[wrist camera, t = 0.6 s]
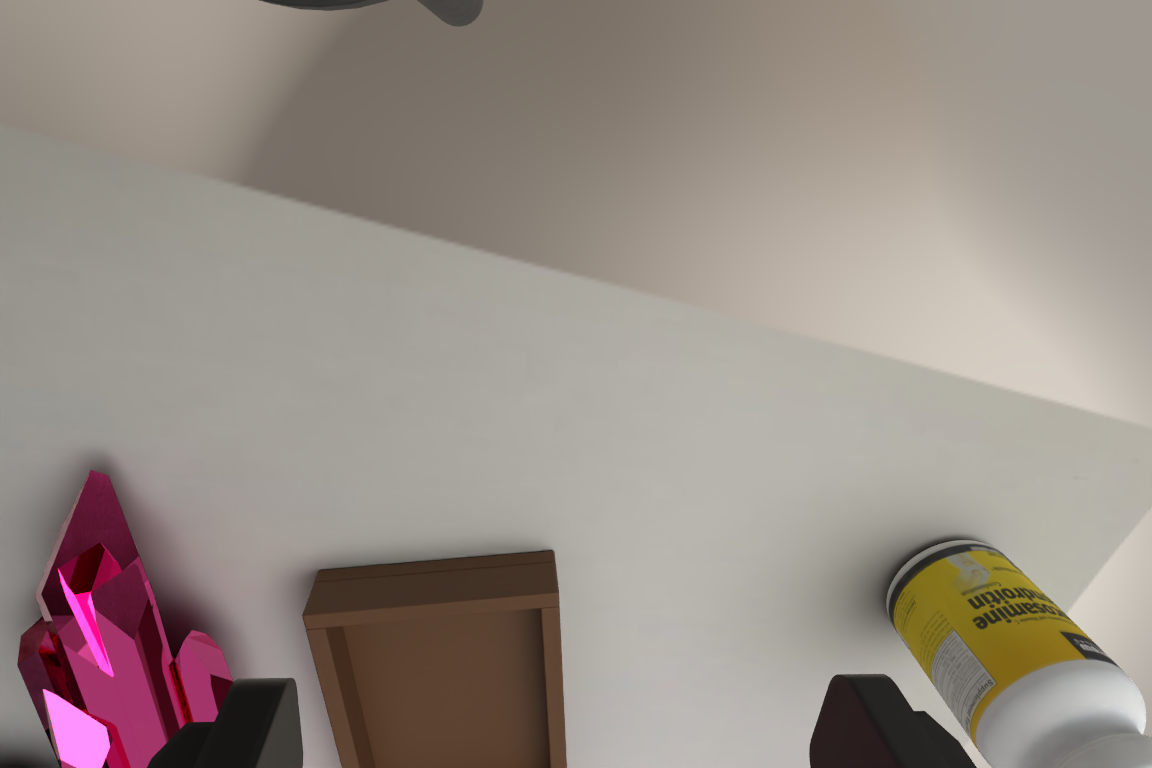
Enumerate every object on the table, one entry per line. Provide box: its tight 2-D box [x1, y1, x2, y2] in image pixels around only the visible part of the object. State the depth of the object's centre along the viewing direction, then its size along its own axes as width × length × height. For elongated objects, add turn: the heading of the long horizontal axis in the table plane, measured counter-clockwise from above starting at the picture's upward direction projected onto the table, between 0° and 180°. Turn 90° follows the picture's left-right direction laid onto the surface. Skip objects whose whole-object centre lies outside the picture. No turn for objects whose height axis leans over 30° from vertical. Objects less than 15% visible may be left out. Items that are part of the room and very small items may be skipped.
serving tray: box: [302, 551, 567, 768], centre depth 33 cm, size 17×11×3 cm, turn 1°
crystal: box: [17, 470, 233, 768], centre depth 29 cm, size 8×6×25 cm
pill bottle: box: [886, 540, 1152, 768], centre depth 29 cm, size 6×6×12 cm
